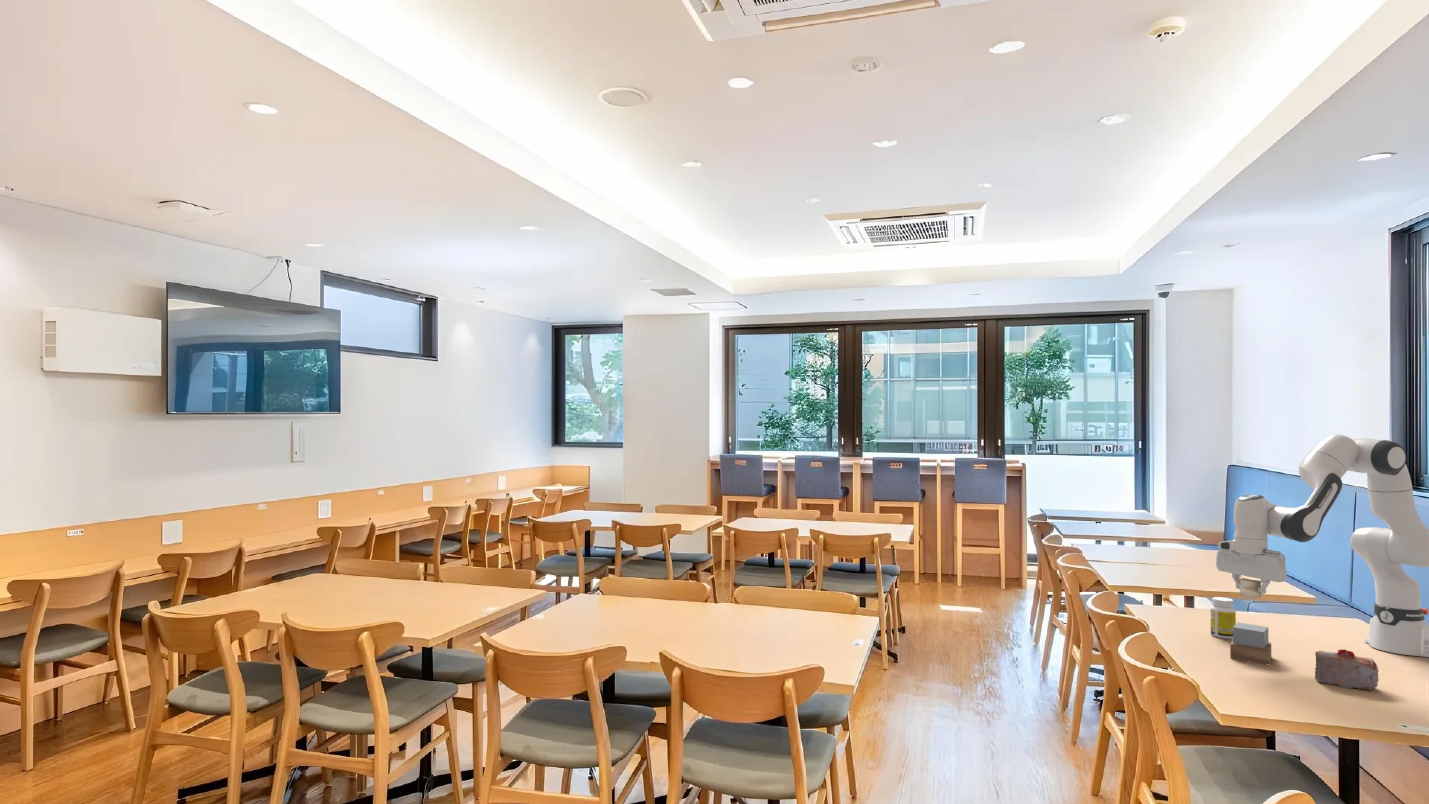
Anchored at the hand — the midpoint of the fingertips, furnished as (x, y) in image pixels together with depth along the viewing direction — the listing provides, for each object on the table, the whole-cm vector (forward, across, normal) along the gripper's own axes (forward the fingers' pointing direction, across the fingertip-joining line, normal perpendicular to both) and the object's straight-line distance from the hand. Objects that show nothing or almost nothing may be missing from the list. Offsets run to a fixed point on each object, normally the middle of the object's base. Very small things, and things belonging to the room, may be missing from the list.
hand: (1250, 590), depth 244 cm
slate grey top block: (+16, 0, 0) cm, 16 cm away
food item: (+21, -26, -1) cm, 34 cm away
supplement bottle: (+21, +20, -15) cm, 33 cm away
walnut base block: (+21, 0, 0) cm, 21 cm away
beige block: (+2, 0, 0) cm, 2 cm away
